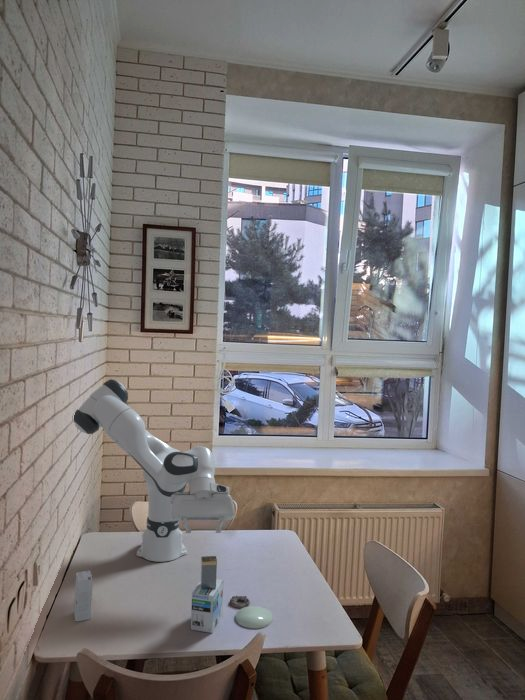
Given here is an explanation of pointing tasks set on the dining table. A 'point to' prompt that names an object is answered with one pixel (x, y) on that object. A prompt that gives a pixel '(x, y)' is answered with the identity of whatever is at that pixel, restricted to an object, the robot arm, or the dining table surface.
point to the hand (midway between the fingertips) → (203, 532)
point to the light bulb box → (206, 607)
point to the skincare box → (83, 596)
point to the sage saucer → (254, 617)
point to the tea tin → (208, 572)
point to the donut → (239, 599)
